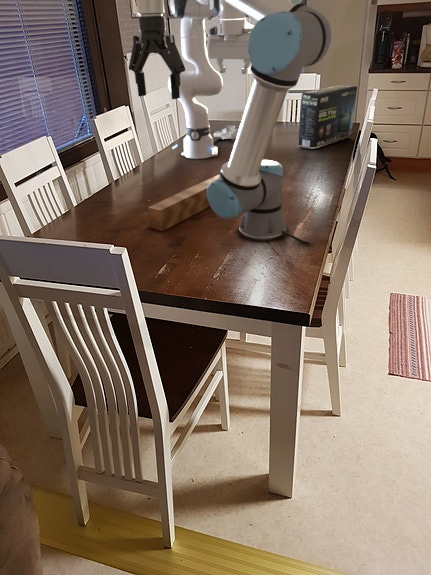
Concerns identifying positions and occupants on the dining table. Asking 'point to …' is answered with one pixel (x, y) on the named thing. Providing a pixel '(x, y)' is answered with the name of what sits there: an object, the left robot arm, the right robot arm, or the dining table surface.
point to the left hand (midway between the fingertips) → (233, 73)
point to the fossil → (227, 132)
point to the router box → (326, 115)
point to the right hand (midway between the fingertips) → (158, 97)
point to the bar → (179, 206)
